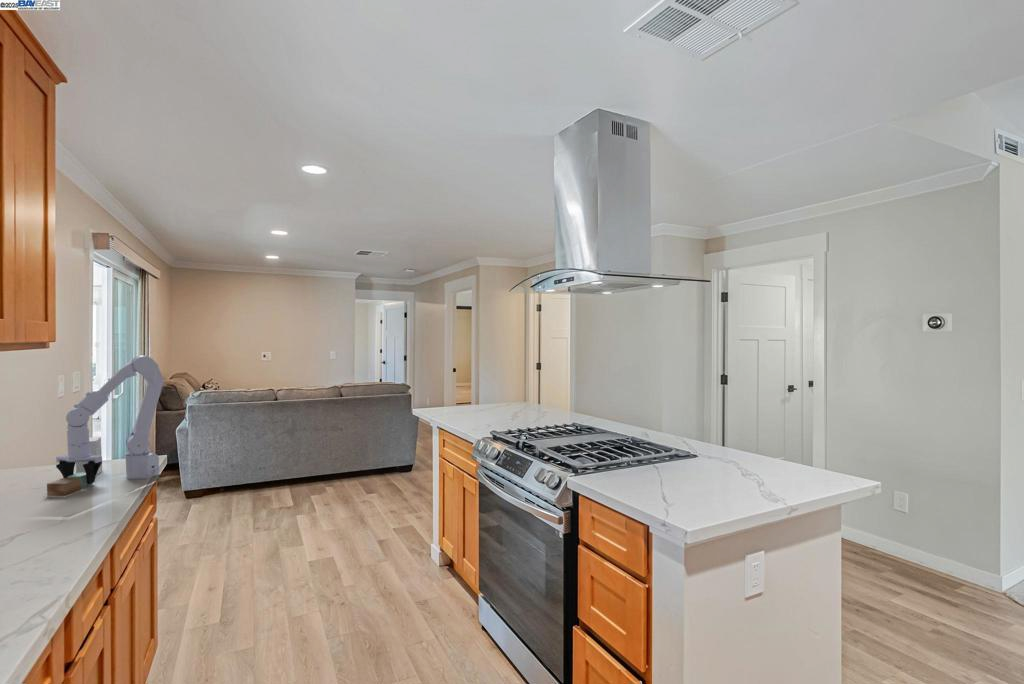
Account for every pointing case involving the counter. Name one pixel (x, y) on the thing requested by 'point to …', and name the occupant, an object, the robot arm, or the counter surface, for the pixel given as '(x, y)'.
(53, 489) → the walnut block
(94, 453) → the small box
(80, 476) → the teal block
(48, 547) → the counter surface
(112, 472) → the counter surface
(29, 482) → the counter surface
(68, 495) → the mat
